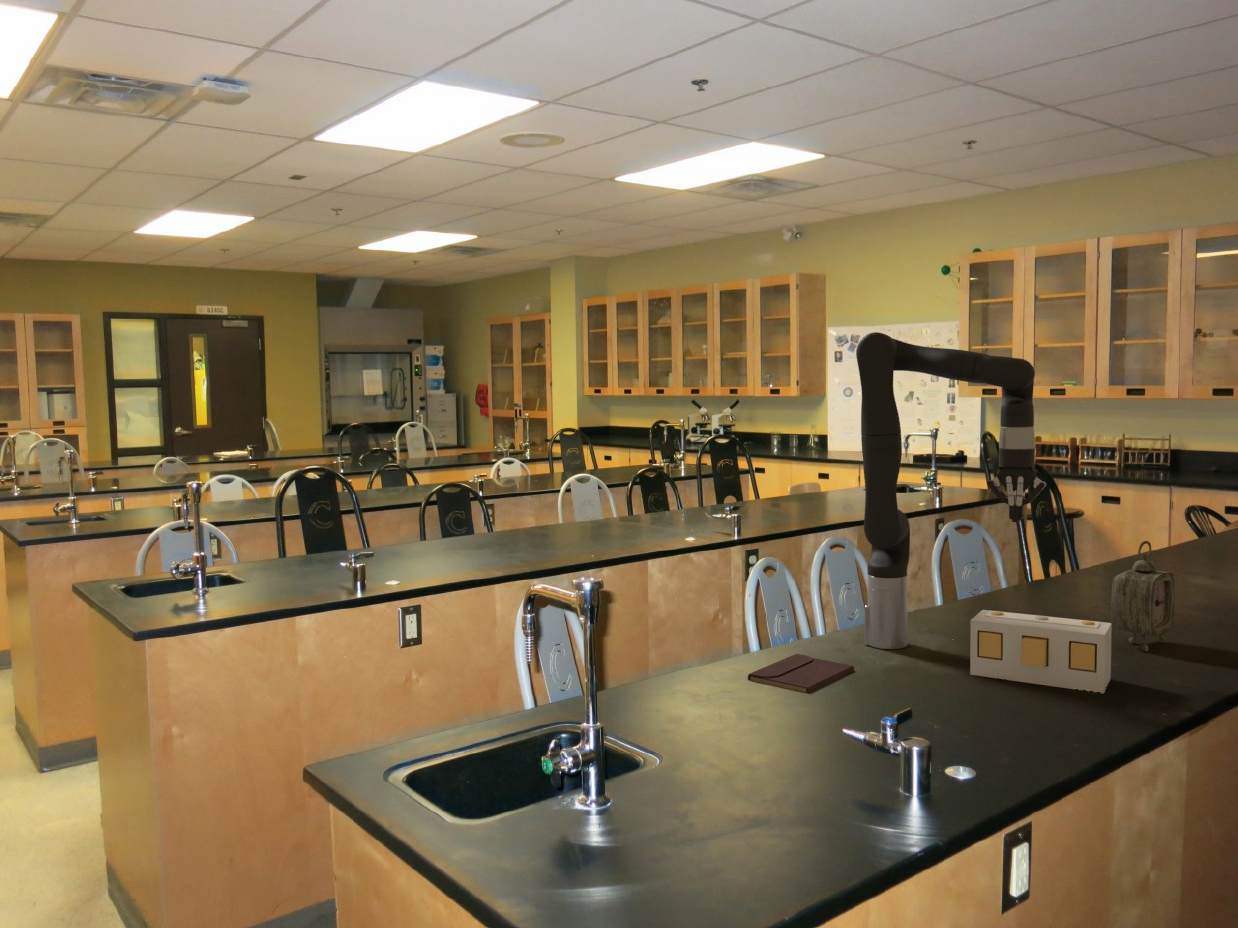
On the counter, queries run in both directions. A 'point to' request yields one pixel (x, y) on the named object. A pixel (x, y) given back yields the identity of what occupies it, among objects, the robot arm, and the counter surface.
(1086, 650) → the button
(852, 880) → the counter surface
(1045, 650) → the middle button
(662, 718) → the counter surface
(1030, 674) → the button console
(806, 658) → the notebook
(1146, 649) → the tabletop clock
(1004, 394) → the robot arm
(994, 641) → the button
